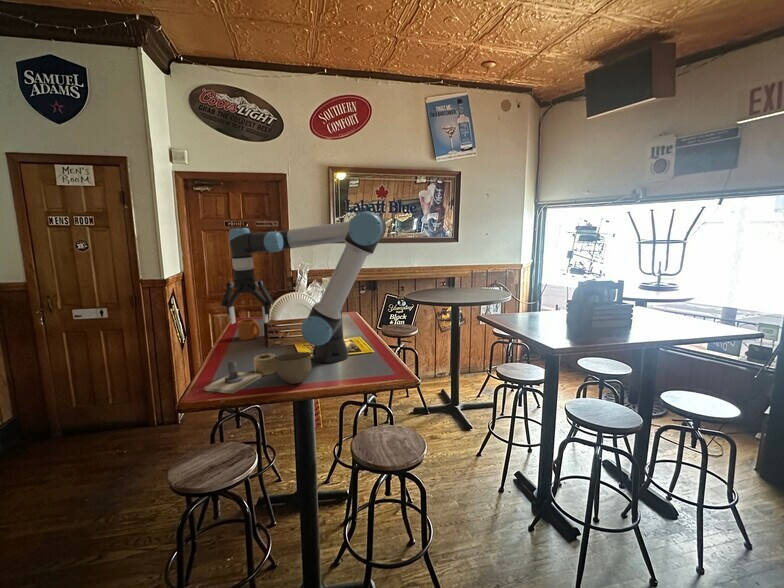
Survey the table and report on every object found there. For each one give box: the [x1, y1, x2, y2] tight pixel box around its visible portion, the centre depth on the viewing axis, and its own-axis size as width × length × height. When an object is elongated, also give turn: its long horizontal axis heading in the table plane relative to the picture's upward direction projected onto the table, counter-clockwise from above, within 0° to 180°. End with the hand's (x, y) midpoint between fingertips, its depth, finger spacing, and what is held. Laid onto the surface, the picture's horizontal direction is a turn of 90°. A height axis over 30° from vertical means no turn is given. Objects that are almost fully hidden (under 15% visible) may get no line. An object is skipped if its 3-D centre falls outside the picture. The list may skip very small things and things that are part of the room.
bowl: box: [275, 351, 313, 385], centre depth 147 cm, size 13×13×10 cm
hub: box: [203, 360, 263, 395], centre depth 147 cm, size 12×16×8 cm
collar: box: [253, 353, 277, 376], centre depth 159 cm, size 8×8×6 cm
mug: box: [236, 318, 261, 341], centre depth 209 cm, size 9×12×9 cm
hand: (249, 322), depth 161 cm, fingers open, 13 cm apart
